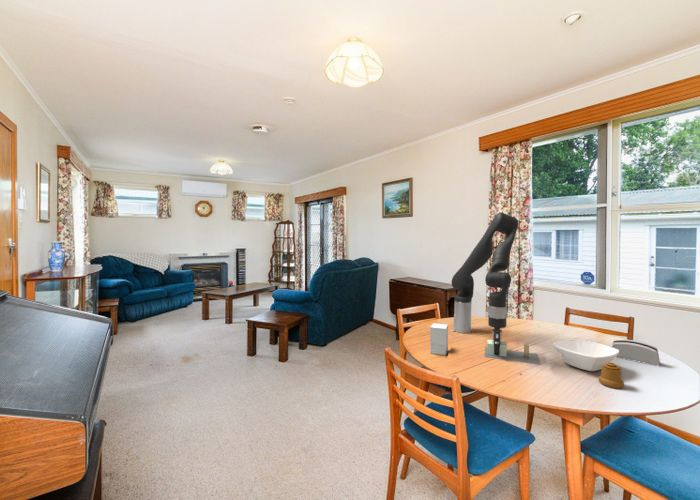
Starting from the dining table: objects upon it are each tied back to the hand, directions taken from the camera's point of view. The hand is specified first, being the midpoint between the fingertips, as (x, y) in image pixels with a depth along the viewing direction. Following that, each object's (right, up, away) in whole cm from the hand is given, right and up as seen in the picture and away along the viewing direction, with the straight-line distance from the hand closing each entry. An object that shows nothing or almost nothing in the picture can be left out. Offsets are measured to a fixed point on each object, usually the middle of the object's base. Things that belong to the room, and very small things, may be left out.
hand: (496, 352), depth 153 cm
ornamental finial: (+30, -4, -28) cm, 41 cm away
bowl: (+32, -3, -12) cm, 34 cm away
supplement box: (-25, -2, +6) cm, 25 cm away
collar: (0, -1, 0) cm, 1 cm away
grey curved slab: (+59, -3, -4) cm, 59 cm away
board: (+5, -2, -2) cm, 6 cm away
